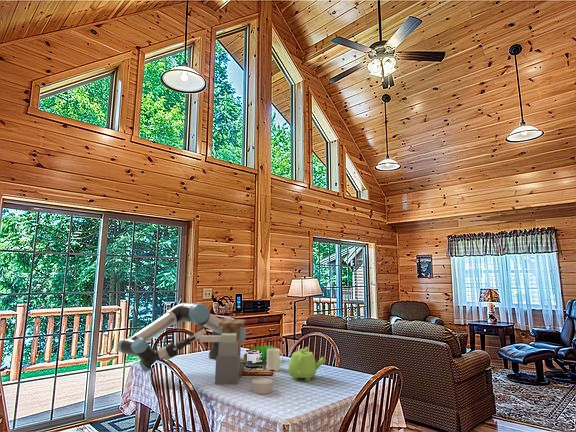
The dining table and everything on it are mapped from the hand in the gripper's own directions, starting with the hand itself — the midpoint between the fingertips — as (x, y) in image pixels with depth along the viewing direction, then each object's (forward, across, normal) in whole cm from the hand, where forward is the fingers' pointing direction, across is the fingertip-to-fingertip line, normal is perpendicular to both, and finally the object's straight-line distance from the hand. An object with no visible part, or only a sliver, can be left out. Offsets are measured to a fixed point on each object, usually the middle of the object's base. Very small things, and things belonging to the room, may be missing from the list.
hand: (203, 332), depth 210 cm
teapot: (+39, -8, -53) cm, 66 cm away
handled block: (+5, 0, -8) cm, 10 cm away
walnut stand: (0, -18, -30) cm, 35 cm away
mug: (+23, -28, -44) cm, 57 cm away
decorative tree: (+16, -48, -40) cm, 64 cm away
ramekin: (+16, +18, -40) cm, 47 cm away
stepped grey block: (0, 0, -30) cm, 30 cm away
